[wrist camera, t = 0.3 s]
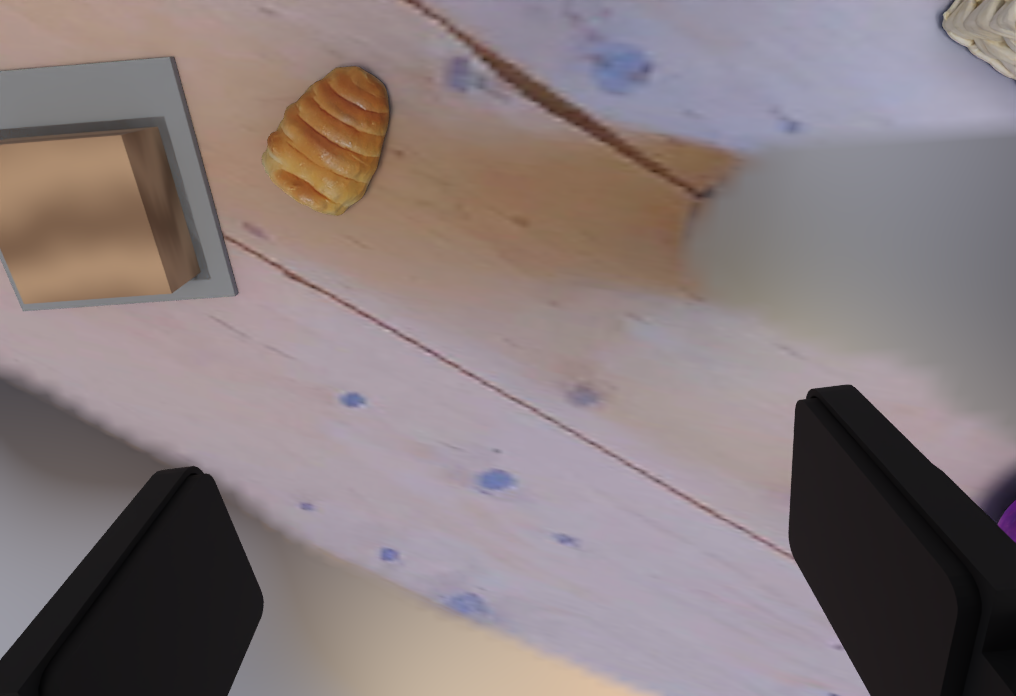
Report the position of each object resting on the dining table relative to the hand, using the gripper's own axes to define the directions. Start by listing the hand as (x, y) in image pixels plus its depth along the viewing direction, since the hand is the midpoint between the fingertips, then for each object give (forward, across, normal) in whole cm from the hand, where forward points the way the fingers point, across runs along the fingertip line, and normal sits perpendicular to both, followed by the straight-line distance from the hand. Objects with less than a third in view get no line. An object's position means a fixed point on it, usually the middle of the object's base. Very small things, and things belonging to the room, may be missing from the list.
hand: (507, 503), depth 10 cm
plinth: (+36, +28, 0) cm, 46 cm away
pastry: (+37, +12, -2) cm, 39 cm away
